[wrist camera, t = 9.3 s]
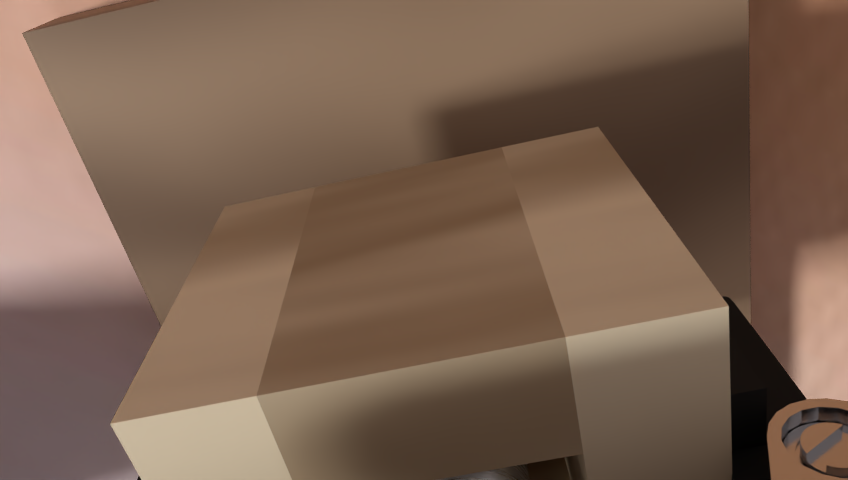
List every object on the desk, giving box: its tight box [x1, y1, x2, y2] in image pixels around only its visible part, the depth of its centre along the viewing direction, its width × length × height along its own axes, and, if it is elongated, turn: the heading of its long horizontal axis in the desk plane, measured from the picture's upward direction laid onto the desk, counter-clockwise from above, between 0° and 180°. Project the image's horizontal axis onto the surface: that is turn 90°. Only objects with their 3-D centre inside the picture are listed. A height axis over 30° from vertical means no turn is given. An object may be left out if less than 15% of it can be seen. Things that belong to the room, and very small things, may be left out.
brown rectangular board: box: [22, 0, 751, 326], centre depth 18 cm, size 22×13×2 cm, turn 12°
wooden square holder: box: [110, 127, 732, 480], centre depth 10 cm, size 6×6×5 cm
